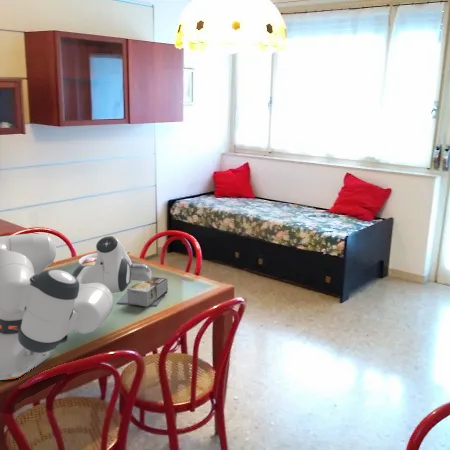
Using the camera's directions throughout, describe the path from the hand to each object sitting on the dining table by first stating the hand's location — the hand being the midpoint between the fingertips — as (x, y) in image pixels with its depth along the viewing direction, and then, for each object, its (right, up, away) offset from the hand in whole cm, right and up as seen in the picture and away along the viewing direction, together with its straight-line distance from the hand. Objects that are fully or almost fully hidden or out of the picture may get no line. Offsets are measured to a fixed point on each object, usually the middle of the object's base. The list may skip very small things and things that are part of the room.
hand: (128, 281), depth 194 cm
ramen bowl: (-18, -2, +43) cm, 47 cm away
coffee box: (+2, -7, +6) cm, 9 cm away
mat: (+3, -8, +17) cm, 19 cm away
